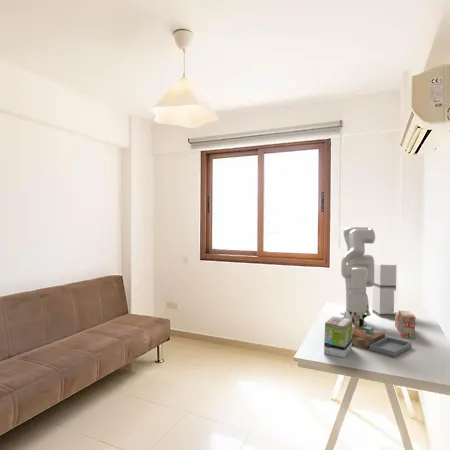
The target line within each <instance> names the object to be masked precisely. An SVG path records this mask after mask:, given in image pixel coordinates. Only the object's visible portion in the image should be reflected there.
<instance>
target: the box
mask: <svg viewBox="0 0 450 450" xmlns="http://www.w3.org/2000/svg"><path fill="white" fill-rule="evenodd" d="M412 344H413V343H412V342H409V341H407V340H402V339H399V338H398V339H397V338H394V337H391V336H385V338H383V339H381V340H379V341H377V342H375V343H373V344H370V345H369V349H368V351H372V352H375V353H378V354H379V355H380V354H381V355H383V356H388V357H391V358H394V359H395V358H397V357H398V356H400V355H402V354H404V353H405V352H407V351H408V350H410V349H412Z"/></svg>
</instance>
